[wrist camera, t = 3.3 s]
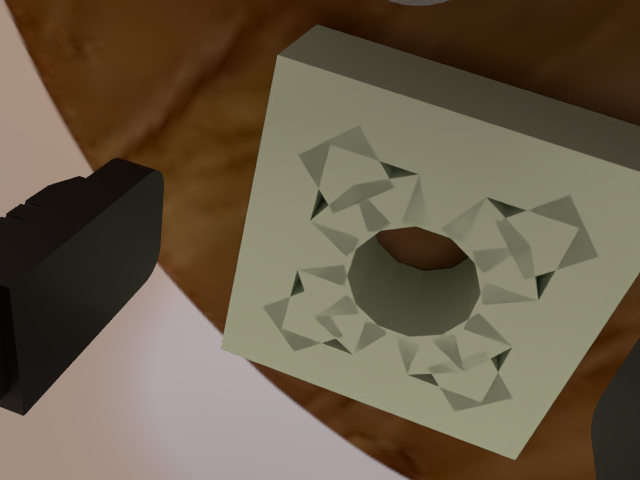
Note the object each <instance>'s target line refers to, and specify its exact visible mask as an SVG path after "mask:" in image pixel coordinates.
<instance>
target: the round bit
mask: <svg viewBox="0 0 640 480" xmlns="http://www.w3.org/2000/svg"><path fill="white" fill-rule="evenodd" d="M388 1H391V2H395V3H399V4H403V5H413V6H423V5H433V4H439V3H443V2H446V1H449V0H388Z"/></svg>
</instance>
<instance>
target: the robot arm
mask: <svg viewBox="0 0 640 480" xmlns="http://www.w3.org/2000/svg"><path fill="white" fill-rule="evenodd" d="M163 194H164V179H163V175H162V173H161V172H160V171H158V170H155V169H152V168H148V167H145V166H142V165H139V164H136V163H133V162H130V161H127V160H123V159H120V158H115V159H113V160H111V161H110V162H108V163H107V164H105V165H104V166H102V167H101V168H100V169H98V170H97V171H95V172H94V173H93V174H91V175H90V176H88V177H87V178H84V177H81V176H78V177H74V178H71V179H68V180H65V181H61V182H58V183H55V184H52V185H49V186H47V187H46V188H44V189H43V190H41V191H40V192H38V193H36V194H35V195H33V196H32V197H30V198H29V199H27V200H26V202H25V204H24V205H23V204H20V205H19V206H17V207H15V208H14V209H12V210H11V211H9V212H8V213H7V214H6V217H5V218H4V217H0V407H2V408H5V409H7V410H10V411H12V412H15V413H18V414H20V415H23V416H24V415H25V414H26V413H27V412H28V411H29V410H30V409H31V408H32V406H33V405H34V404H35V403H36V402H37V401H38V400H39V399H40V398H41V397H42V395H43V394H44V393H45V392H46V391H47V390H48V389H49V388H50V387H51V386H52V384H53V383H54V382H55V381H56V380H57V379H58V378H59V377H60V375H61V374H62V373H63V372H64V371H65V370H66V369H67V368H68V367H69V366H70V365H71V364H72V362H73V361H74V360H75V359H76V358H77V357H78V356H79V355H80V354H81V353H82V352H83V350H84V349H85V348H86V347H87V346H88V345H89V344H90V343H91V342H92V340H93V339H94V338H95V337H96V336H97V335H98V334H99V333H100V332H101V331H102V329H103V328H104V327H105V326H106V325H107V324H108V323H109V322H110V321H111V320H112V319H113V317H114V316H115V315H116V314H117V313H118V312H119V311H120V310H121V308H123V306H124V305H125V304H126V303H127V302H128V301H129V300H130V299H131V298H132V297H133V295H134V294H135V293H136V292H137V291H138V290H139V289H140V288H141V287H142V286H143V284H144V283H145V282H146V281H147V280H148V278H149V277H150V275H151V274H152V272H153V270H154V268H155V265H156V263H157V260H158V256H159V252H160V244H161V227H162V210H163ZM591 438H592V446H593V453H594V461H595V469H596V476H597V480H640V338H639V339H638V341H637V342H636V344H635V345H634V347H633V348H632V350H631V351H630V353H629V354H628V356H627V357H626V359H625V360H624V362H623V364H622V365H621V367H620V368H619V370H618V371H617V373H616V374H615V376H614V377H613V379H612V380H611V382H610V383H609V385H608V386H607V388H606V389H605V391H604V392H603V394H602V395H601V397H600V399H599V401H598V403H597V406H596V408H595V411H594V415H593V419H592V426H591Z"/></svg>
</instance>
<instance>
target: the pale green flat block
mask: <svg viewBox="0 0 640 480" xmlns="http://www.w3.org/2000/svg"><path fill="white" fill-rule="evenodd" d="M414 226H417V227H420V228H423V229H425V230H428V231H431V232H434V233H437V234H440V235H443V236H446V237H449V238H451V239H452V240H453V241H454V242H455V243H456V244H457V245H458V246H459V247H460V248H461V249H462V250H463V251H464V252H465V253H466V254H467V256H468V257H469V258H467V259H465V260H464V261H462V262H461V263H459V264H458V265H456V266H455V267H453V268H449V269H438V270H428V271H423V270H420V269H417V268H414V267H411V266H408V265H406V264H403V263H400V262H397V261H396V260H395V259H394V258H393V257H392V256H391V255H390V254H389V253H388V252H387V251H386V250H385V249H384V248H383V247H382V246H381V245H380V244H379V243H378V240H377V237H376V234H377V233H378V232H379V231H382V230H390V229H398V228H406V227H414ZM639 272H640V126H638V125H635V124H631V123H628V122H625V121H622V120H619V119H616V118H612V117H609V116H606V115H603V114H600V113H597V112H593V111H590V110H587V109H584V108H581V107H578V106H574V105H571V104H568V103H565V102H562V101H559V100H555V99H552V98H549V97H546V96H543V95H540V94H536V93H533V92H530V91H527V90H524V89H521V88H517V87H514V86H511V85H508V84H505V83H502V82H498V81H495V80H492V79H489V78H486V77H483V76H479V75H476V74H473V73H470V72H467V71H464V70H460V69H457V68H454V67H451V66H448V65H445V64H441V63H438V62H435V61H432V60H429V59H426V58H422V57H419V56H416V55H413V54H410V53H407V52H403V51H400V50H397V49H394V48H391V47H387V46H384V45H381V44H378V43H375V42H372V41H368V40H365V39H362V38H359V37H356V36H353V35H349V34H346V33H343V32H340V31H337V30H334V29H330V28H327V27H324V26H321V25H318V24H317V25H316V26H314V27H313V28H312V29H310V30H309V31H308V32H307V33H305V34H304V35H303V36H301V37H300V38H299V39H297V40H296V41H295V42H294V43H292V44H291V45H290V46H288V47H287V48H286V49H284V50H283V51H282V52H281V53H279V54H278V55H277V60H276V65H275V71H274V76H273V81H272V86H271V91H270V97H269V102H268V107H267V112H266V117H265V123H264V128H263V133H262V138H261V143H260V149H259V154H258V159H257V164H256V169H255V175H254V180H253V185H252V190H251V195H250V201H249V206H248V211H247V216H246V221H245V227H244V232H243V237H242V242H241V247H240V253H239V258H238V263H237V268H236V273H235V279H234V284H233V289H232V294H231V299H230V305H229V310H228V315H227V320H226V325H225V331H224V336H223V341H222V346H221V349H223V350H225V351H228V352H230V353H233V354H236V355H239V356H241V357H244V358H246V359H249V360H252V361H254V362H257V363H260V364H262V365H265V366H267V367H270V368H273V369H275V370H278V371H281V372H283V373H286V374H289V375H291V376H294V377H297V378H299V379H302V380H305V381H307V382H310V383H312V384H315V385H318V386H320V387H323V388H326V389H328V390H331V391H334V392H336V393H339V394H342V395H344V396H347V397H350V398H352V399H355V400H358V401H360V402H363V403H365V404H368V405H371V406H373V407H376V408H379V409H381V410H384V411H387V412H389V413H392V414H395V415H397V416H400V417H403V418H405V419H408V420H410V421H413V422H416V423H418V424H421V425H424V426H426V427H429V428H432V429H434V430H437V431H440V432H442V433H445V434H448V435H450V436H453V437H456V438H458V439H461V440H463V441H466V442H469V443H471V444H474V445H477V446H479V447H482V448H485V449H487V450H490V451H493V452H495V453H498V454H501V455H503V456H506V457H508V458H511V459H514V460H515V459H516V458H517V456H518V455H519V453H520V452H521V450H522V449H523V447H524V446H525V444H526V443H527V441H528V440H529V438H530V437H531V435H532V434H533V432H534V431H535V429H536V428H537V426H538V425H539V423H540V422H541V420H542V419H543V417H544V416H545V414H546V413H547V411H548V410H549V408H550V407H551V405H552V404H553V402H554V401H555V399H556V398H557V396H558V395H559V393H560V392H561V390H562V389H563V387H564V386H565V384H566V383H567V381H568V380H569V378H570V377H571V375H572V374H573V372H574V371H575V369H576V367H577V366H578V364H579V363H580V361H581V360H582V358H583V357H584V355H585V354H586V352H587V351H588V349H589V348H590V346H591V345H592V343H593V342H594V340H595V339H596V337H597V336H598V334H599V333H600V331H601V330H602V328H603V327H604V325H605V324H606V322H607V321H608V319H609V318H610V316H611V315H612V313H613V312H614V310H615V309H616V307H617V306H618V304H619V303H620V301H621V300H622V298H623V297H624V295H625V294H626V292H627V291H628V289H629V288H630V286H631V285H632V283H633V282H634V280H635V279H636V277H637V276H638V274H639Z"/></svg>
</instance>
